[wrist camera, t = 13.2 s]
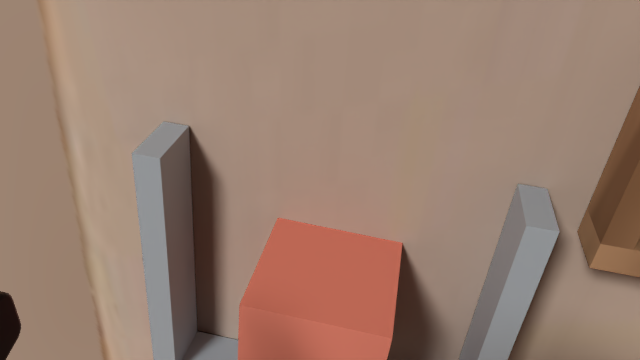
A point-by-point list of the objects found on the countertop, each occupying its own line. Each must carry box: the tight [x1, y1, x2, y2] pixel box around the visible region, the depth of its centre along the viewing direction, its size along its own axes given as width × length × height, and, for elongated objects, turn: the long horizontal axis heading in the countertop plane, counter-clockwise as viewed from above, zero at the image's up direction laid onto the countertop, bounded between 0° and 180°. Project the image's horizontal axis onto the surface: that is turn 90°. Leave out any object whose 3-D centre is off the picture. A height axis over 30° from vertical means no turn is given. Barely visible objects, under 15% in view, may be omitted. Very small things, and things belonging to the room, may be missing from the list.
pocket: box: [132, 122, 560, 360], centre depth 22 cm, size 14×12×2 cm
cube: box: [238, 218, 402, 360], centre depth 21 cm, size 5×5×5 cm
